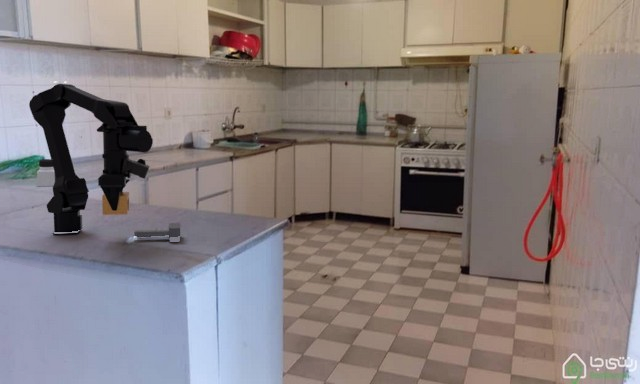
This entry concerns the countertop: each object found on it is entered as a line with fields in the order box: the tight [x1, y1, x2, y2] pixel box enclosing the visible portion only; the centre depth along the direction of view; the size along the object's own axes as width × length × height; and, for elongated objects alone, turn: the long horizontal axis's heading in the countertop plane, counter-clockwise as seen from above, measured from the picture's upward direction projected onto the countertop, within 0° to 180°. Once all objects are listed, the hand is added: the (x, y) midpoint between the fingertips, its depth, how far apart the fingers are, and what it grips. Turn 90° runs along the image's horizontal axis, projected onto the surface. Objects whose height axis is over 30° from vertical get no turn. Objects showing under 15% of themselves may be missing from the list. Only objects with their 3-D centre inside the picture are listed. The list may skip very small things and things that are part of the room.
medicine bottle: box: [36, 158, 56, 188], centre depth 232 cm, size 7×7×12 cm
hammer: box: [133, 222, 181, 239], centre depth 140 cm, size 12×7×4 cm, turn 105°
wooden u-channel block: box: [101, 191, 130, 216], centre depth 137 cm, size 6×6×5 cm
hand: (116, 208), depth 137 cm, fingers closed on wooden u-channel block, 6 cm apart
